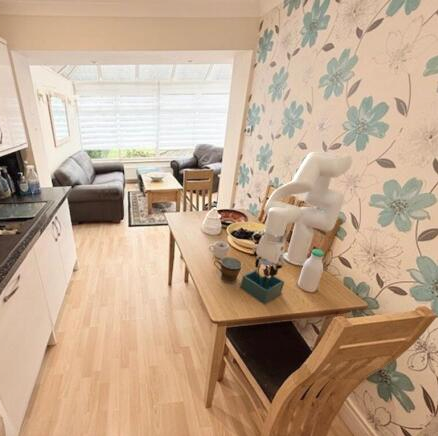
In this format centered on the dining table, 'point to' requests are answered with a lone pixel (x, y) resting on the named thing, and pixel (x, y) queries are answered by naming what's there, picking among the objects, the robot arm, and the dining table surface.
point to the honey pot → (212, 222)
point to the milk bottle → (311, 271)
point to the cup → (219, 249)
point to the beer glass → (264, 273)
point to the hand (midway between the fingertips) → (265, 270)
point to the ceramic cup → (229, 269)
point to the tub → (257, 290)
